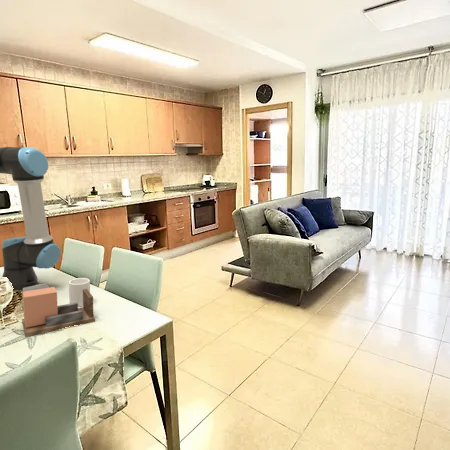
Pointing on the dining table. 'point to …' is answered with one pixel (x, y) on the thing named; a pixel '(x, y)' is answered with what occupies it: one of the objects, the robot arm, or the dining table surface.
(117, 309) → the dining table surface
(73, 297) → the mug
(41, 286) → the electrical switch
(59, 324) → the wooden block holder
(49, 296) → the pink block
